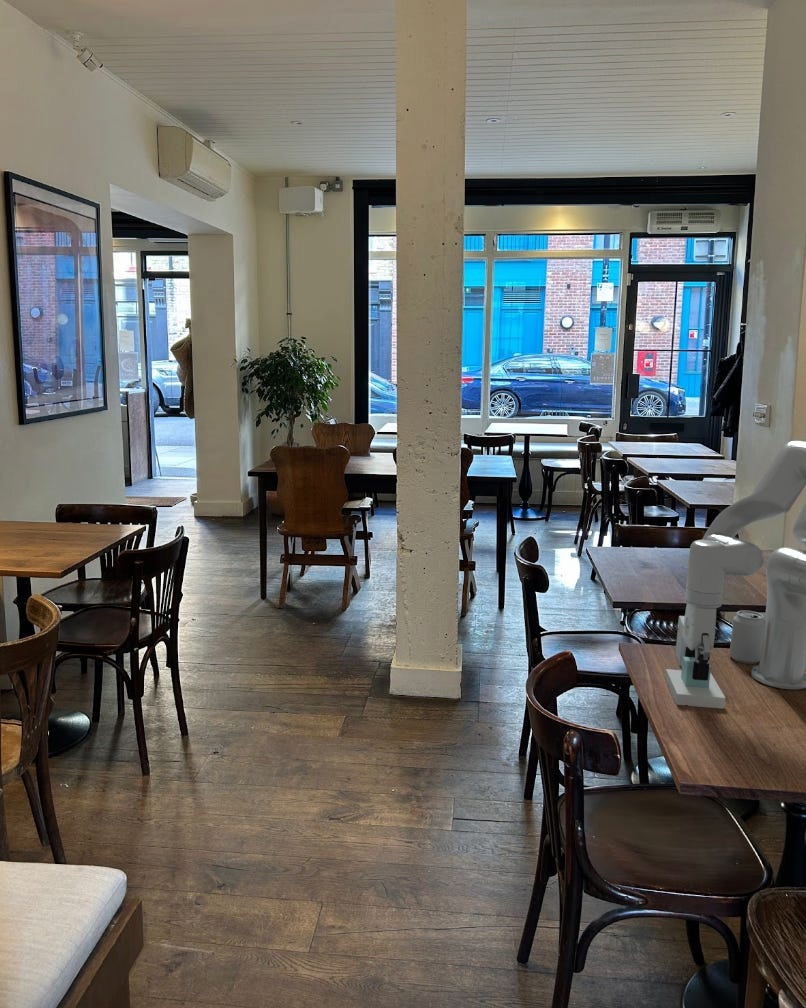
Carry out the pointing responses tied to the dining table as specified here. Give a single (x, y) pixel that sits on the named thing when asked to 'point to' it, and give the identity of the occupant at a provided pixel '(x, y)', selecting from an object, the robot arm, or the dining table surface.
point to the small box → (681, 642)
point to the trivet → (694, 692)
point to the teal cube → (688, 672)
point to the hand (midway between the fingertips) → (695, 671)
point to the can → (747, 637)
